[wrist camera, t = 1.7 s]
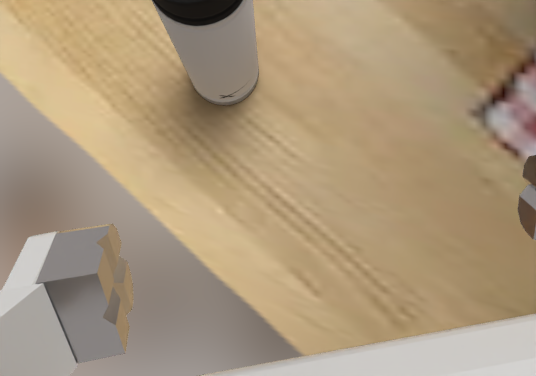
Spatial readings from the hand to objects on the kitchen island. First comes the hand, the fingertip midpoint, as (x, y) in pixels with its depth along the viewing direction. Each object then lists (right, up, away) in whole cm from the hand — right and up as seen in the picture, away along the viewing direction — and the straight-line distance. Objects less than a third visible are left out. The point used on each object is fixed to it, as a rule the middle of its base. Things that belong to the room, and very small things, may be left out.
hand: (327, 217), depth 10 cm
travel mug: (-5, +11, +37) cm, 39 cm away
